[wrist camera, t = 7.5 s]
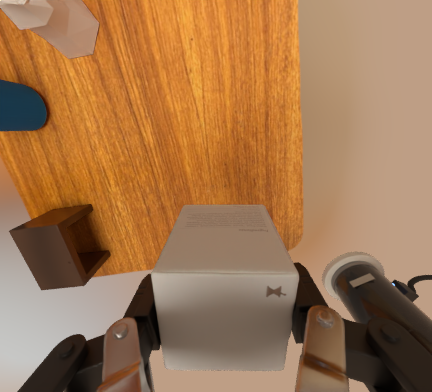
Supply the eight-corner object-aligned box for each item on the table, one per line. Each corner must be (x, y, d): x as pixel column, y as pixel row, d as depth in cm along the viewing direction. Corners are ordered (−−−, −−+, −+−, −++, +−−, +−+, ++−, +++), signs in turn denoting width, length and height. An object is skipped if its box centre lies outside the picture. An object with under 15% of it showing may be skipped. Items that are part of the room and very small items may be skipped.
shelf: (91, 204, 36) (56, 224, 28) (110, 255, 39) (84, 285, 32) (52, 209, 37) (8, 231, 29) (75, 259, 40) (41, 290, 32)
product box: (182, 201, 15) (147, 270, 8) (265, 202, 15) (305, 272, 8) (187, 270, 17) (162, 372, 10) (260, 271, 17) (287, 376, 10)
